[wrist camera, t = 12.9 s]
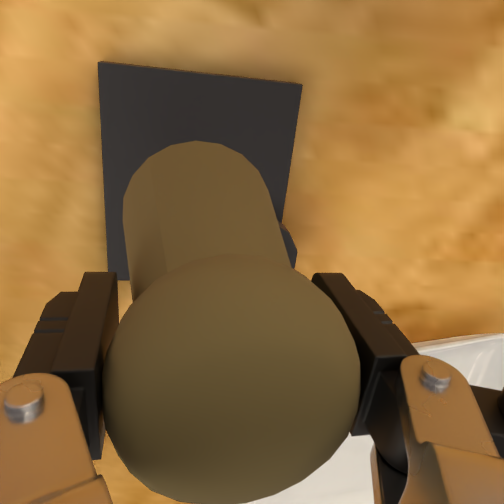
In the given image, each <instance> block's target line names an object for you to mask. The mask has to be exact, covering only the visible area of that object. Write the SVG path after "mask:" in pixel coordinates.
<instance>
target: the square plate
mask: <svg viewBox="0 0 504 504" xmlns="http://www.w3.org/2000/svg"><path fill="white" fill-rule="evenodd" d="M411 344H412V345H413V346H414V348H415V349H416V350H417V351H418V352H419V354H420V355H426V356H431V357H434V358H437V359H440V360H442V361H444V362H446V363H448V364H450V365H451V366H453V367H454V368H456V369H457V370H458V371H459V372H461V374H462V375H463V376H464V377H465V378H466V379H467V381H468V383H469V385H474V386H479V387H485V388H490V389H495V390H501V391H502V389H503V387H504V333H489V334H475V335H466V336H458V337H451V338H444V339H438V340H431V341H424V342H417V343H411ZM373 443H374V441H373V439H372V437H371V436H370V435H363V436H353V437H352V436H351V434H350V432H349V435H348V437H347V438H346V439H345V441H344V442H343V443H342V444H341V446H340V447H339V448H338V450H337V451H336V452H335V453H334V455H333V456H332V457H331V458H330V460H328V461H327V462H326V463H324V464H323V465H322V466H321V467H319V468H318V469H317V470H316V471H314V472H313V473H312V474H311V475H309V476H308V477H307V478H305V479H304V480H303V481H301V482H299V483H297V484H295V485H293V486H291V487H289V488H287V489H285V490H283V491H281V492H279V493H277V494H275V495H273V496H269V497H266V498H262V499H259V500H255V501H252V502H248V503H242V504H374V496H373V486H372V475H371V464H370V452H371V449H372V446H373Z"/></svg>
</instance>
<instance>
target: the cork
mask: <svg viewBox="0 0 504 504" xmlns="http://www.w3.org/2000/svg"><path fill="white" fill-rule="evenodd" d="M123 228H124V236H125V244H126V252H127V260H128V268H129V276H130V284H131V292H132V300H133V303H132V304H131V305H130V307H129V308H128V310H127V311H126V313H125V314H124V316H123V318H122V319H121V321H120V323H119V325H118V328H117V330H116V332H115V334H114V336H113V339H112V341H111V343H110V345H109V347H108V350H107V352H106V357H105V361H104V366H103V371H102V411H103V417H104V423H105V428H106V431H107V433H108V435H109V437H110V439H111V441H112V443H113V445H114V448H115V450H116V452H117V454H118V456H119V457H120V459H121V460H122V461H123V463H124V464H125V466H126V467H127V469H128V470H129V472H130V473H131V474H133V475H134V476H135V477H136V478H137V479H138V480H139V481H141V482H142V483H143V484H144V485H145V486H146V487H148V488H149V489H150V490H151V491H154V492H156V493H159V494H161V495H164V496H166V497H169V498H171V499H174V500H176V501H179V502H186V503H195V504H242V503H248V502H252V501H255V500H259V499H262V498H266V497H269V496H273V495H275V494H277V493H279V492H281V491H283V490H285V489H287V488H289V487H291V486H293V485H295V484H297V483H299V482H301V481H303V480H304V479H305V478H307V477H308V476H309V475H311V474H312V473H313V472H314V471H316V470H317V469H318V468H319V467H321V466H322V465H323V464H324V463H326V462H327V461H328V460H330V458H331V457H332V456H333V455H334V453H335V452H336V451H337V450H338V448H339V447H340V446H341V444H342V443H343V442H344V441H345V439H346V438H347V437H348V435H349V432H350V429H351V427H352V424H353V422H354V419H355V416H356V414H357V411H358V404H359V398H360V391H361V385H360V360H359V356H358V352H357V349H356V345H355V341H354V339H353V337H352V335H351V333H350V331H349V329H348V327H347V325H346V322H345V320H344V318H343V316H342V314H341V313H340V311H339V310H338V309H337V307H336V306H335V304H334V303H333V301H332V300H331V299H330V298H329V297H328V296H327V295H326V294H325V293H324V292H323V291H321V290H320V289H319V288H318V287H317V286H316V285H315V284H314V283H312V282H311V281H310V280H309V279H308V278H307V277H305V276H304V275H302V274H301V273H299V272H298V271H296V270H295V269H293V268H291V264H290V261H289V258H288V254H287V251H286V248H285V244H284V241H283V238H282V234H281V231H280V228H279V224H278V221H277V218H276V214H275V211H274V208H273V204H272V201H271V198H270V194H269V191H268V189H267V187H266V185H265V183H264V181H263V179H262V177H261V175H260V173H259V171H258V170H257V169H256V168H255V167H254V166H253V165H252V164H251V163H250V162H249V161H248V160H247V159H246V158H245V157H244V156H243V155H242V154H240V153H238V152H236V151H234V150H232V149H230V148H228V147H226V146H224V145H222V144H217V143H210V142H202V141H191V142H185V143H180V144H175V145H170V146H168V147H167V148H165V149H163V150H161V151H159V152H158V153H156V154H154V155H152V156H150V157H149V158H148V159H147V160H146V161H145V162H144V163H143V164H142V165H141V167H140V168H139V169H138V170H137V171H136V172H135V173H134V174H133V175H132V178H131V180H130V182H129V185H128V187H127V190H126V192H125V195H124V197H123Z"/></svg>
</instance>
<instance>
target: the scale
mask: <svg viewBox="0 0 504 504" xmlns="http://www.w3.org/2000/svg"><path fill="white" fill-rule="evenodd" d="M98 78H99V98H100V119H101V139H102V159H103V179H104V200H105V220H106V240H107V260H108V272H116V273H117V280H130V276H129V268H128V260H127V252H126V244H125V236H124V228H123V197H124V195H125V192H126V190H127V187H128V185H129V182H130V180H131V178H132V175H133V174H134V173H135V172H136V171H137V170H138V169H139V168H140V167H141V165H142V164H143V163H144V162H145V161H146V160H147V159H148V158H149V157H150V156H152V155H154V154H156V153H158V152H159V151H161V150H163V149H165V148H167V147H168V146H170V145H175V144H180V143H185V142H191V141H202V142H210V143H217V144H222V145H224V146H226V147H228V148H230V149H232V150H234V151H236V152H238V153H240V154H242V155H243V156H244V157H245V158H246V159H247V160H248V161H249V162H250V163H251V164H252V165H253V166H254V167H255V168H256V169H257V170H258V171H259V173H260V175H261V177H262V179H263V181H264V183H265V185H266V187H267V189H268V191H269V194H270V198H271V201H272V204H273V208H274V211H275V214H276V218H277V221H278V224H279V228H280V231H281V234H282V238H283V241H284V244H285V248H286V251H287V254H288V258H289V261H290V264H291V268H293V269H294V268H295V262H296V256H297V249H296V247H295V244H294V242H293V240H292V237H291V235H290V233H289V232H288V230H287V229H286V227H285V226H284V225H283V224H282V217H283V210H284V204H285V197H286V191H287V184H288V178H289V171H290V165H291V158H292V151H293V145H294V138H295V132H296V125H297V119H298V112H299V106H300V99H301V92H302V86H303V85H302V84H298V83H292V82H284V81H275V80H266V79H257V78H248V77H239V76H230V75H221V74H212V73H203V72H194V71H185V70H176V69H167V68H158V67H149V66H140V65H132V64H123V63H114V62H105V61H100V62H98Z"/></svg>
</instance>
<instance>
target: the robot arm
mask: <svg viewBox="0 0 504 504" xmlns="http://www.w3.org/2000/svg"><path fill="white" fill-rule="evenodd" d="M311 282H312V283H314V284H315V285H316V286H317V287H318V288H319V289H320V290H321V291H323V292H324V293H325V294H326V295H327V296H328V297H329V298H330V299H331V300H332V301H333V303H334V304H335V306H336V307H337V309H338V310H339V311H340V313H341V314H342V316H343V318H344V320H345V322H346V325H347V327H348V329H349V331H350V333H351V335H352V337H353V339H354V341H355V345H356V349H357V352H358V356H359V360H360V385H361V391H360V398H359V404H358V411H357V414H356V416H355V419H354V422H353V424H352V427H351V429H350V434H351V436H352V437H353V436H363V435H370V436H371V437H372V439H373V441H374V443H373V446H372V449H371V452H370V464H371V475H372V486H373V496H374V504H504V387H503V389H502V391H501V390H495V389H490V388H485V387H479V386H474V385H469V383H468V381H467V379H466V378H465V377H464V376H463V375H462V374H461V372H459V371H458V370H457V369H456V368H454V367H453V366H451V365H450V364H448V363H446V362H444V361H442V360H440V359H437V358H434V357H431V356H426V355H420V354H419V352H418V351H417V350H416V349H415V348H414V346H413V345H412V344H411V343H410V342H409V340H408V339H407V338H406V337H405V336H404V334H403V333H402V332H401V331H400V330H399V328H398V327H397V326H396V325H395V324H393V323H392V322H393V321H392V320H391V319H390V318H389V317H388V315H387V314H384V311H383V309H382V308H381V307H380V306H379V305H378V303H377V302H376V301H375V300H374V299H372V298H371V297H369V296H368V295H366V294H365V293H363V292H362V291H360V290H355V288H354V287H353V286H352V285H351V283H350V282H349V281H348V280H347V278H346V277H345V276H344V275H343V274H342V273H315V274H314V275H313V277H312V280H311ZM118 325H119V309H118V283H117V273H116V272H85V273H84V275H83V278H82V281H81V284H80V287H79V290H78V292H60V293H59V294H58V295H57V296H55V297H54V298H53V299H52V300H51V301H49V302H48V303H47V304H46V306H45V308H44V310H43V312H42V314H41V316H40V321H38V323H37V325H36V327H35V330H34V333H33V334H32V336H31V338H30V341H29V343H28V345H27V347H26V349H25V352H24V354H23V356H22V358H21V360H20V362H19V365H18V367H17V369H16V371H15V373H14V376H13V378H11V379H9V380H7V381H5V382H3V383H1V384H0V504H113V503H112V500H111V497H110V493H109V491H108V488H107V485H106V482H105V480H104V478H103V476H102V475H101V474H100V475H98V476H97V474H96V471H95V468H94V465H93V462H92V460H99V459H101V456H102V450H103V443H104V436H105V430H106V428H105V423H104V417H103V411H102V371H103V366H104V361H105V357H106V352H107V350H108V347H109V345H110V343H111V341H112V339H113V336H114V334H115V332H116V330H117V328H118Z"/></svg>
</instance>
